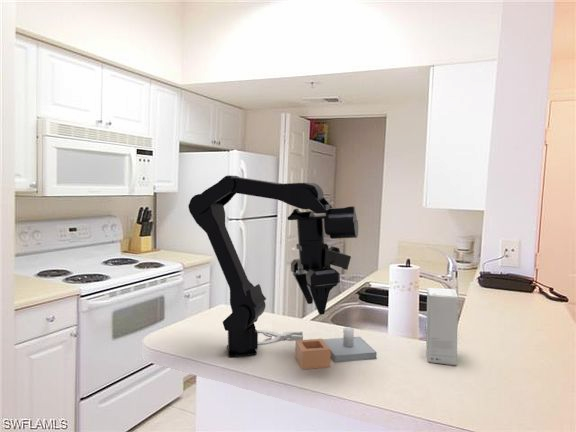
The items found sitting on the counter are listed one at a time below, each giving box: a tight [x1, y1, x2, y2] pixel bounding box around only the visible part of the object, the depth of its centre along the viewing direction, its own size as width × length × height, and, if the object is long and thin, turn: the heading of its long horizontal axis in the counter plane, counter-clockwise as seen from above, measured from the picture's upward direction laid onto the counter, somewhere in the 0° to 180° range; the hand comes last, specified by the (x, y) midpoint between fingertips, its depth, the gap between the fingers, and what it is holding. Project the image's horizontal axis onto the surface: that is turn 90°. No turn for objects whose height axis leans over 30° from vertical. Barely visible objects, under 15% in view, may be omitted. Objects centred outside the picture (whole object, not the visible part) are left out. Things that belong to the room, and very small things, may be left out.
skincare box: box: [426, 287, 459, 366], centre depth 97 cm, size 8×7×16 cm
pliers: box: [256, 329, 304, 346], centre depth 109 cm, size 10×2×15 cm
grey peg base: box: [322, 327, 378, 363], centre depth 100 cm, size 10×10×6 cm
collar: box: [294, 338, 331, 370], centre depth 94 cm, size 6×6×4 cm
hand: (315, 308), depth 94 cm, fingers open, 9 cm apart
